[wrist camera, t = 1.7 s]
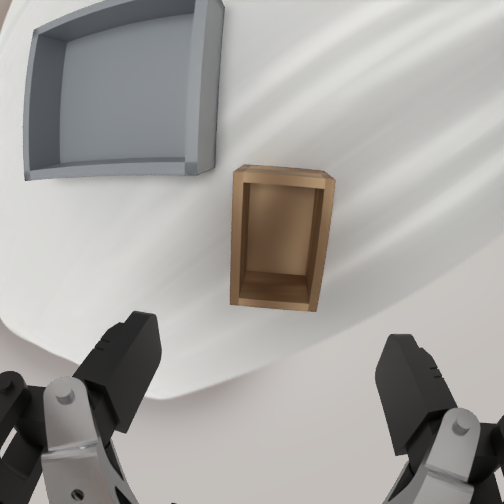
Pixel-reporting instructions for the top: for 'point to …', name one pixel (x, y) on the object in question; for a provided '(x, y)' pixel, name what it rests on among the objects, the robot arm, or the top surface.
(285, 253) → the wood crate
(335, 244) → the top surface
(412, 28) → the top surface
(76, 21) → the grey bin
